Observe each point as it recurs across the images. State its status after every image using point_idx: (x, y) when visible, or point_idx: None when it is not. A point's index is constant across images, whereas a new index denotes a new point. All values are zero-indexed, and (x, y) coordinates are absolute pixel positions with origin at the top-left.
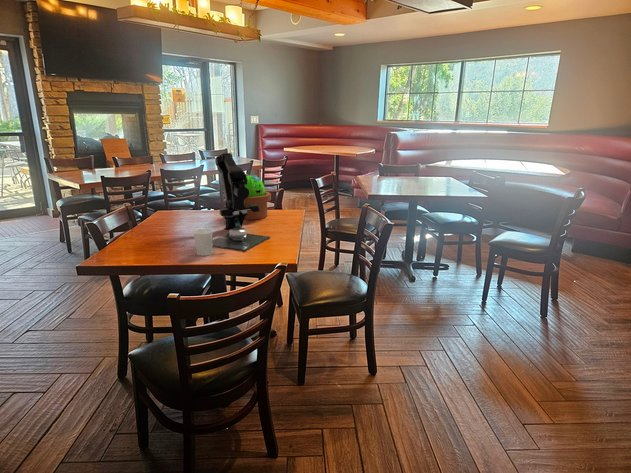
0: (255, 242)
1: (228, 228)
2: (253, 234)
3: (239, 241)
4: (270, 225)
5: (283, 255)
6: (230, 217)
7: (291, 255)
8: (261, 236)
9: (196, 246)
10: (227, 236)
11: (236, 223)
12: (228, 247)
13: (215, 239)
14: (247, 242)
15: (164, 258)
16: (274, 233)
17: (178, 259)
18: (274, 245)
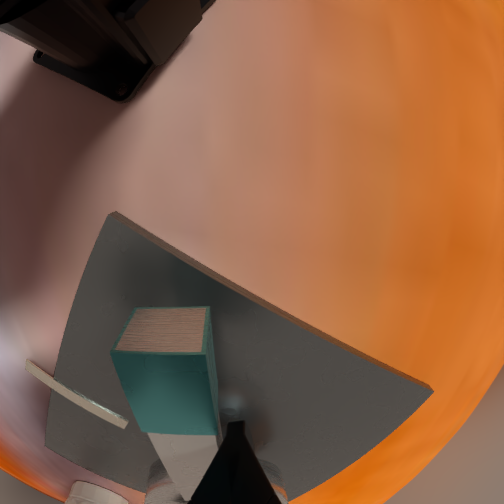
0: (320, 475)
1: (65, 64)
2: (353, 356)
3: None
4: (480, 45)
5: (371, 501)
6: (2, 5)
7: (390, 495)
8: (392, 398)
9: None
10: (101, 379)
11: (143, 391)
12: None
13: (52, 411)
14: None
15: (18, 469)
16: (486, 282)
17: (56, 490)
18: (391, 461)
